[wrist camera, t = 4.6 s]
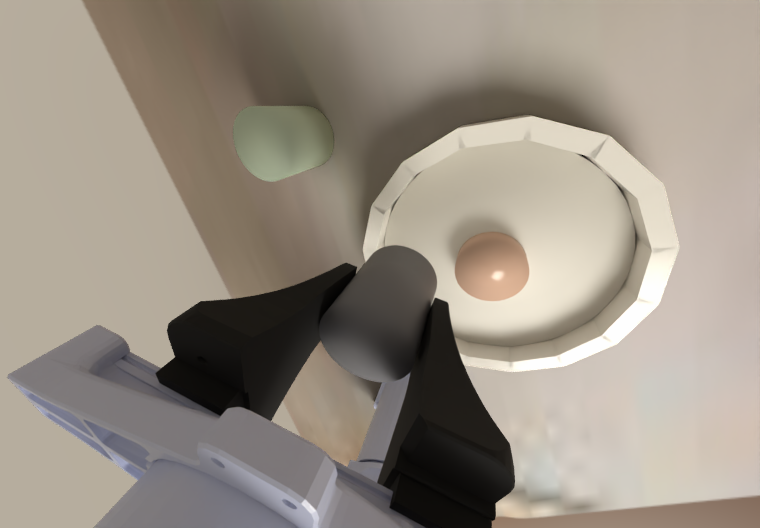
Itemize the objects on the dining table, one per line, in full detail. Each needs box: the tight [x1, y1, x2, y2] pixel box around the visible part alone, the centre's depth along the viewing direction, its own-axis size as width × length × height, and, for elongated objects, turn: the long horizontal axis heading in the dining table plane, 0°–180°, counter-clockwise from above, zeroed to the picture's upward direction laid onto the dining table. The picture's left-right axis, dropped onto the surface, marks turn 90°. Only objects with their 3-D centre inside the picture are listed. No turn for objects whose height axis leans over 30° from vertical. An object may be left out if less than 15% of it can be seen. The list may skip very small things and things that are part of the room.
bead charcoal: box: [319, 245, 437, 382], centre depth 13 cm, size 4×4×5 cm
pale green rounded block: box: [233, 106, 334, 182], centre depth 18 cm, size 4×4×5 cm
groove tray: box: [363, 115, 679, 372], centre depth 18 cm, size 17×17×2 cm
